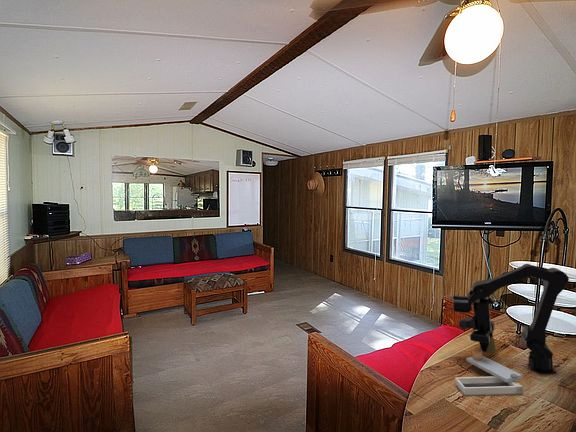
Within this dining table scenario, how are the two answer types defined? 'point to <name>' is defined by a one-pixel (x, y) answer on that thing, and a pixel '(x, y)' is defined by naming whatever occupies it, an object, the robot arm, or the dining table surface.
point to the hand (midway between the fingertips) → (484, 351)
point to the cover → (493, 367)
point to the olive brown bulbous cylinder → (491, 345)
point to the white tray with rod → (487, 386)
